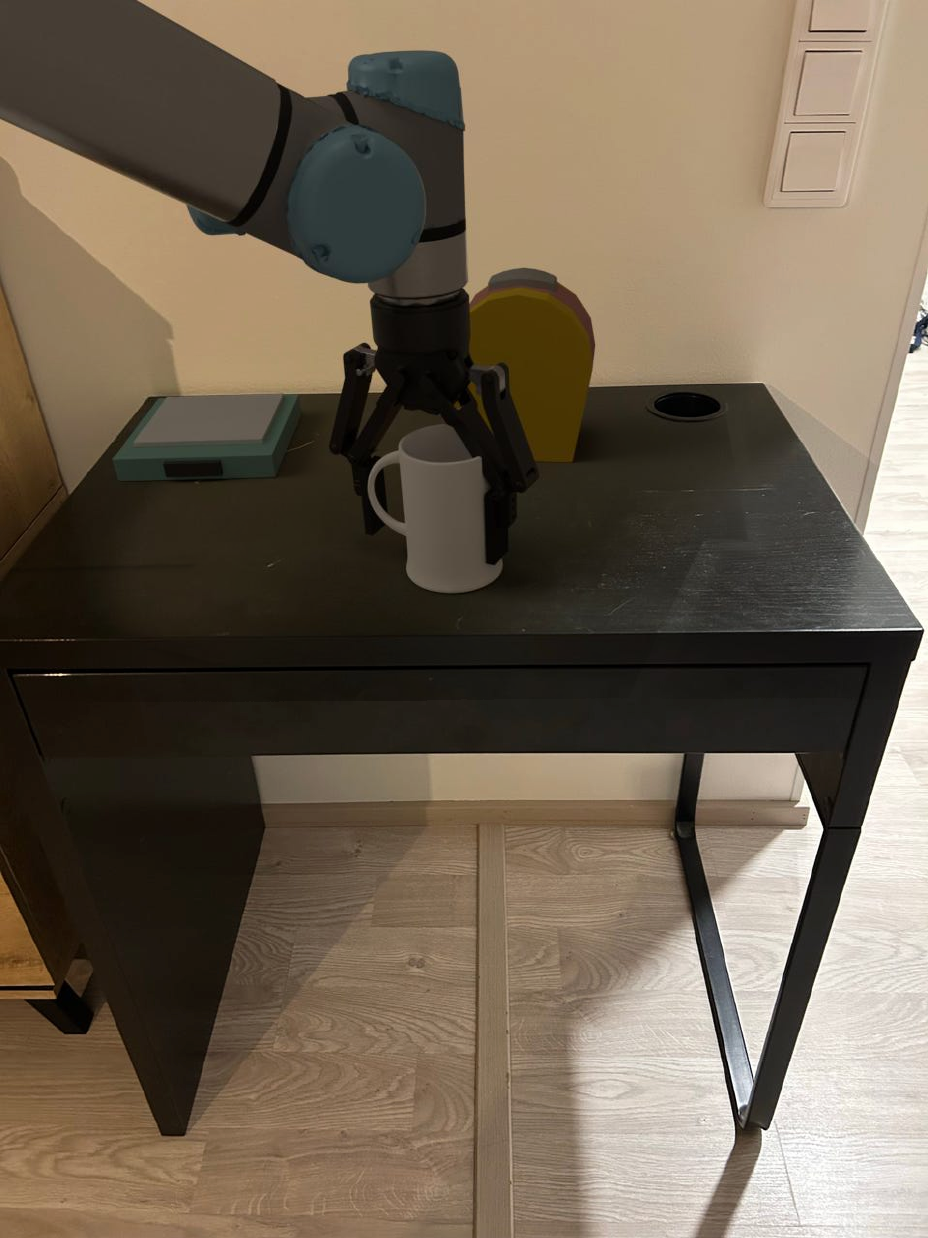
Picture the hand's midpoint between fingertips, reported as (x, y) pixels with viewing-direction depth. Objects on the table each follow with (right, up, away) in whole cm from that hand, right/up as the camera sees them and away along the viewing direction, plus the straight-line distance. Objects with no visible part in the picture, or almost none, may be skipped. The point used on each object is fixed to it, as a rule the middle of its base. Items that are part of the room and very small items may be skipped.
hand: (435, 542), depth 84 cm
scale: (-26, +13, +25) cm, 38 cm away
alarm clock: (+9, +12, +22) cm, 26 cm away
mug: (0, -2, +1) cm, 2 cm away
